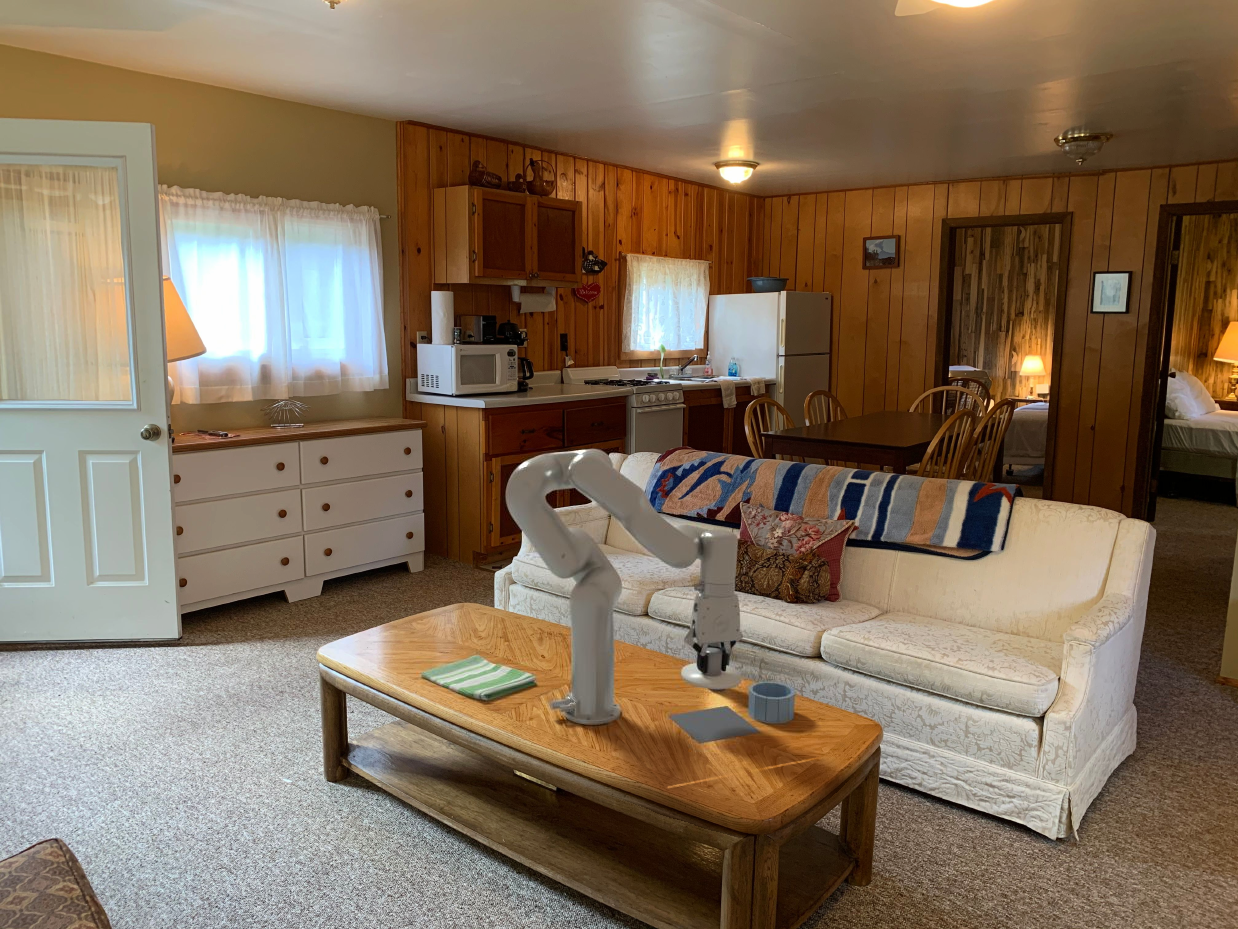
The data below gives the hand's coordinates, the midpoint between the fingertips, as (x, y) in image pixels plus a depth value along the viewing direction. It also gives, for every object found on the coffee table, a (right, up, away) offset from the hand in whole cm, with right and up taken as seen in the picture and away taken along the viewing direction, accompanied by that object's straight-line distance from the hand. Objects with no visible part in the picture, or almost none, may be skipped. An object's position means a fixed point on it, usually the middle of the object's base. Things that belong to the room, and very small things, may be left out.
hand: (711, 669), depth 200 cm
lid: (0, -2, 0) cm, 2 cm away
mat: (+1, -13, +2) cm, 13 cm away
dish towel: (-54, -9, +26) cm, 60 cm away
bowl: (+14, -12, +7) cm, 20 cm away
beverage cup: (+3, -10, +22) cm, 24 cm away
